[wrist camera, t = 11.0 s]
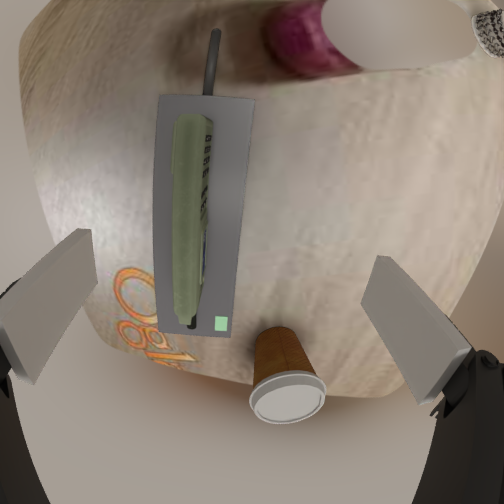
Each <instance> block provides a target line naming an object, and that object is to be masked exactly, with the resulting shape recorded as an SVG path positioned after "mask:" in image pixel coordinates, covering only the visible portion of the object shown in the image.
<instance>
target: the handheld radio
mask: <svg viewBox="0 0 504 504" xmlns="http://www.w3.org/2000/svg"><path fill="white" fill-rule="evenodd" d="M212 131H213V122H212V120H210V119H209V118H207V117H205V116H203V115H201V114H180V115H179V117H178V118H177V121H175V122H174V124H173V134H172V147H171V164H170V170H171V173H172V174H173V187H172V289H173V309H174V312H175V314H176V315H178V318H179V323H180V324H186V325H187V328H188V329H191V330H193V329H195V328H196V327H197V320H196V312H197V309H198V307H199V303H200V298H201V294H202V289H203V285H204V273H205V269H206V256H207V235H208V220H207V199H208V183H209V168H210V155H211V143H212Z"/></svg>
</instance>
